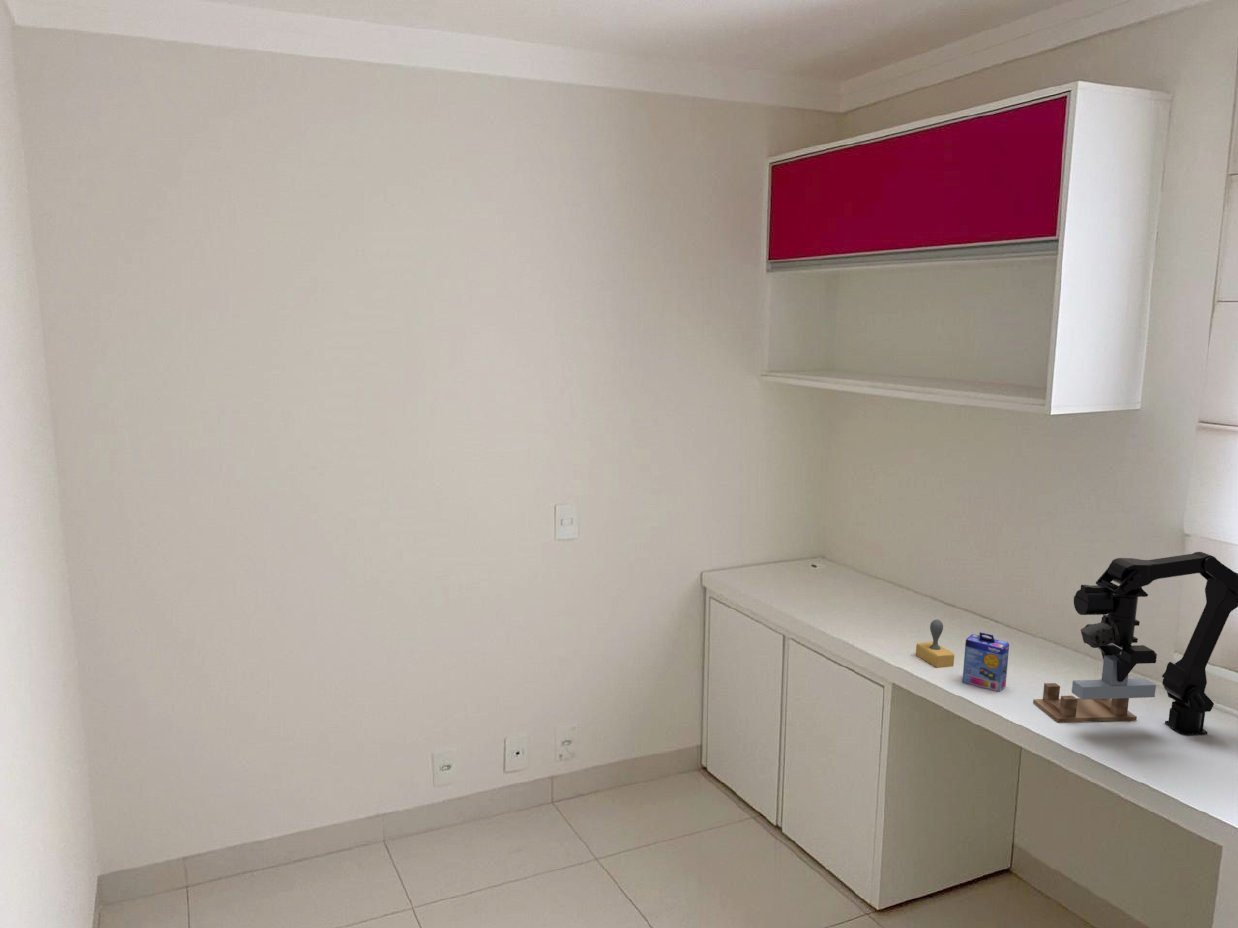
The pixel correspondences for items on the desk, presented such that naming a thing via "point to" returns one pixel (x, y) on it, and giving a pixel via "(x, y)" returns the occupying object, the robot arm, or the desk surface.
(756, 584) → the desk surface
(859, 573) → the desk surface
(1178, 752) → the desk surface
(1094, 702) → the cradle
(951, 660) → the rubber stamp
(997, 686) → the ink cartridge box
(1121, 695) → the bar
